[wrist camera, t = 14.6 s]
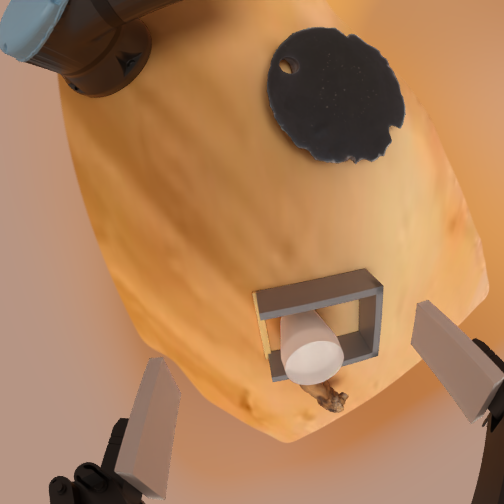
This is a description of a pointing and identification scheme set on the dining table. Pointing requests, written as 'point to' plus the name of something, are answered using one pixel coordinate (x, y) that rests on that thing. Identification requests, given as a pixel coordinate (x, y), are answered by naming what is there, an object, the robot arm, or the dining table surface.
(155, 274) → the dining table surface
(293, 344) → the cup
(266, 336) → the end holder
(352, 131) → the board
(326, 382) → the lion figurine
